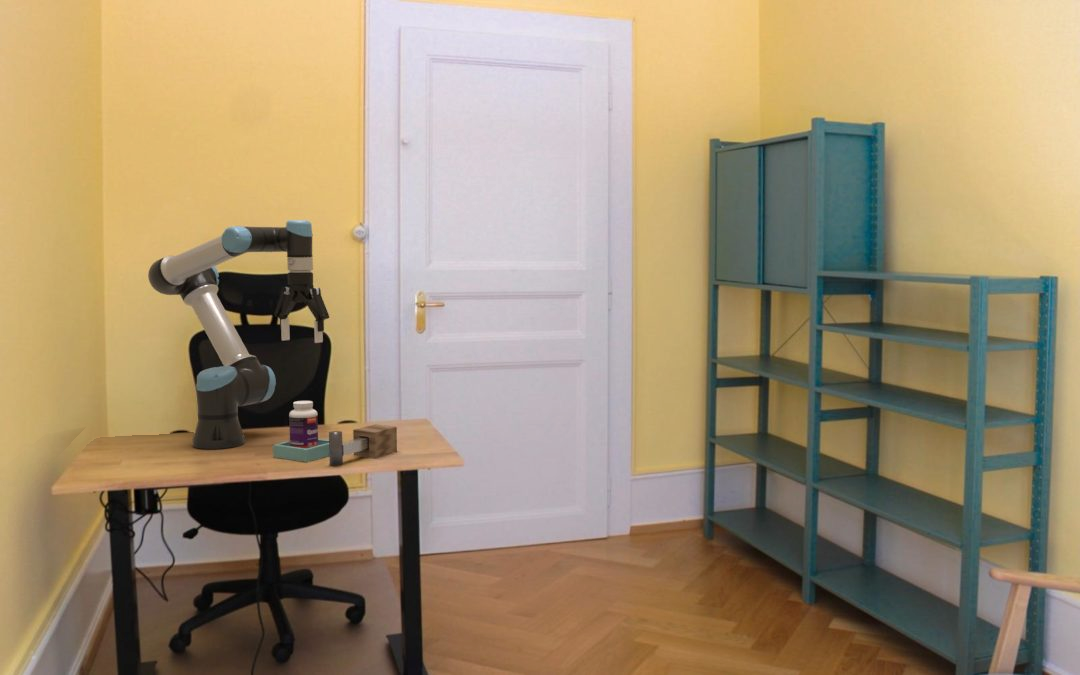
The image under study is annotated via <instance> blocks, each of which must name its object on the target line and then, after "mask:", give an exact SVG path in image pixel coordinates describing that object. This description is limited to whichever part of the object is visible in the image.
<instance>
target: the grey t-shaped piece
mask: <svg viewBox="0 0 1080 675" xmlns="http://www.w3.org/2000/svg"><path fill="white" fill-rule="evenodd" d="M328 440H329V456H328V457H329V466H342V465H344V458H343V457H344V456H347V455H351V454H354V453H355V452H359V451H362V450H366V449H369V437H365V436H364V437H361V438H357V439H349V440H346V441H343V431H342V430H331V431H329V432H328Z"/></svg>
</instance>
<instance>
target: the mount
mask: <svg viewBox="0 0 1080 675" xmlns="http://www.w3.org/2000/svg"><path fill="white" fill-rule="evenodd" d="M397 430H398V427H397V426H392V425H383V424H377V423H376V424H372V425H368V426H364V427H359V428H355V429H352V432H353V433H352V434H353V435H352V437H353V439H357V438H361V437H364V436H365V437H369V449H366V450H362V451H359V452H355V453H353V456H355V455H356V457H364V458H371V459H378V458H380V457H383V456H388V455H391V454H394V453H397V452H398V435H397V434H398V433H397ZM353 439H352V440H353Z"/></svg>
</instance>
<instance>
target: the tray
mask: <svg viewBox="0 0 1080 675" xmlns="http://www.w3.org/2000/svg"><path fill="white" fill-rule="evenodd" d="M272 453H273V454H272V456H273V458H276V459H277V458H278V459H283V460H289V461H295V460H297V462H302V461H304V463H309V462H308V461H310V462H313V461H317V460H320V459H324V458H327V457H326V456H328V457H329V439H322V438H318V446H315V447H311V448H307V449H305V448H298V447H291V446H290V440H287V441H283V442H280V443H276V444H272ZM323 457H324V458H323ZM319 458H320V459H319ZM316 459H317V460H316ZM312 460H313V461H312Z"/></svg>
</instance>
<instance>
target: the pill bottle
mask: <svg viewBox="0 0 1080 675" xmlns="http://www.w3.org/2000/svg"><path fill="white" fill-rule="evenodd" d="M292 404H293V406H292V407H293V408H294V409H292V410H290V411H289V414H288V417H289V418H288V420H289V421H288V422H289V441H290V446H291V447H298V448H305V449H307V448H311V447H315V446H318V439H319V422H318V421H319V419H318V418H319V417H318V415H319V414H318V411H317V410H316V409H314V408H313V406H314V402H313V401H312V400H297V401H294V402H293V403H292Z"/></svg>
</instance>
